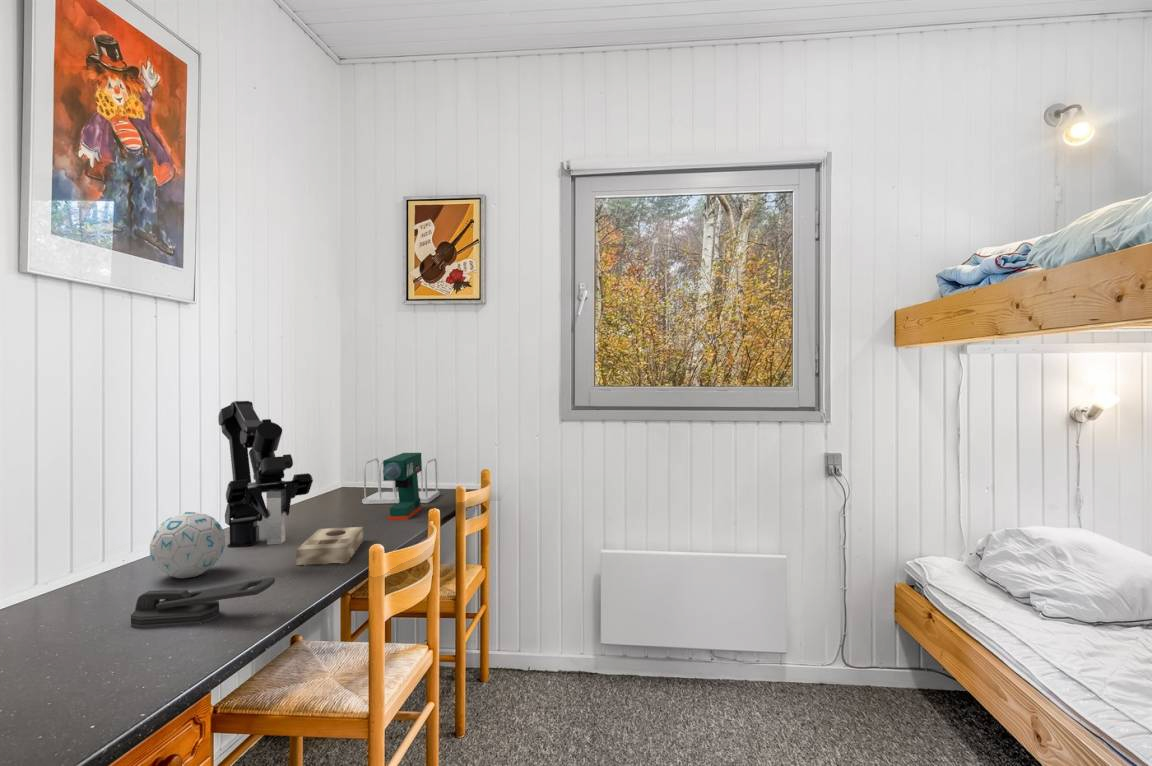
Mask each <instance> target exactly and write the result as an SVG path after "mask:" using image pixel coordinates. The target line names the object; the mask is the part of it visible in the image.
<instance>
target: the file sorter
mask: <svg viewBox="0 0 1152 766" xmlns="http://www.w3.org/2000/svg"><path fill="white" fill-rule="evenodd" d="M375 461H376V463H377V485H378V486H377V487H378V488H377V491H376V492H375V493H373V494H371V495H369V496H367V489H366V488H367V484H366V483H367V481H366V480H367V479H366V477H367V476H366V467H367V464H369V463H371V462H375ZM433 461H434V471H435V475H434V478H435V490H428V477H427V476H428V475H427V473H428V472H427V467H428V463H431V462H433ZM437 463H438V462H437V458H435V457H434V458H432V459H429V460H427V461H426V462H425V464H424V481H423V470H422V471H420V488H421V490H419V498H420V504H429V503H430V502H432V501H433V500H435V499H436V498H437V497H439V496H440V494H441V493H440V490H438V465H437ZM382 466H383V461H381V462H380V461H379V459H378V458H372V459H370V460H367V461H365V462H364V465H363V490H364V491H363V493H364V494H363V495H364V498H362V499H361V504H362V503H363V504H362V505H373V504H375V505H378V504H397V503H399V493H398V491H397V488H395V481H392V491H382V476H381V472H382V471H381V468H382ZM421 467H422V468H423V459H421ZM424 483H425V484H424ZM424 486H425V488H424ZM424 489H425V490H424Z"/></svg>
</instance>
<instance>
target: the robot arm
mask: <svg viewBox="0 0 1152 766" xmlns="http://www.w3.org/2000/svg"><path fill="white" fill-rule="evenodd" d="M253 406H254V405H253V402H252V401H249V400H235V401H233V402H232V401H231V403H230V404H229V405H227V406H225V407H223V408H221V409H220V411H219V414H218V416H217V417H218V425H219V426H221V433H222V434H223V435H224V436H225V437H226V439H227V440H228V442H229V443H228V444H229V451H230V462H231V472H232V480H231V481H229V482H228V484H227V488H226V492H225V499H226V500H225V501H226V503H227V504H226V508H225V514H224V523H225V524H226V525H227V526H229V543H228V544H227V547H228V548H231V547H232V548H233V547H246V546H247V545H251V546H253V545H255V544H256V543H257V541H258V540H259V541H260V526H259V525H258V522H261V521H262V520H263V518H264V519H267V518H268V513H267V505H266V504H265V500H264V497H263V493H266V492H267V491H269V490H272V489H285V516H289V514H290V510H291V504H292V503H291V501H292V499H295V498H296V496H304V495H308V494H309V493H310V490H311V488H312V484H313V481H314V479H313V475H311V473H308V472H307V473H297V474H293V477H292V480H288V481H286V480H282V479H284V478H285V471H286V470H288V469H291V468H292V467H293V465H294V460H293V457H292V455H291V454H289V453H288V454H283V455H282V456H276V453H275V452H276V451H278V447H279V444H280V442H281V437H282V434H283V428H282V426H280V425H279V424H277V423H276V422H273V421H272V419H271V418H266V419H265V418H264V419H262V420H260V418H259V416H258V415H257V413H256V410H255V409H254V407H253ZM248 449H249V450H248ZM250 465H251V467H250ZM251 468H252V473H253V477H251V476H252V475H251ZM252 478H253V480H254V482H252ZM259 541H258V542H259ZM254 543H255V544H254ZM247 547H248V546H247Z"/></svg>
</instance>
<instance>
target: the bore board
mask: <svg viewBox="0 0 1152 766" xmlns="http://www.w3.org/2000/svg"><path fill="white" fill-rule="evenodd" d="M363 542H364V527H363V526H356V527H355V526H353V527H331V528H330V527H329V528H318V529H316V531H314V533H313V534H311V536H309V537H308V538H307V539H306V540H305V541H304V542H303V543H302V544H301V545H300V546H299V547H298V548H297V549H296V550H295V557H296V558H295V559H296V561H295V562H296V564H295V565H301V564H322V565H326V564H325V563H340V564H348V563H347V562H349V561H350V560H351V559H350V558H352V557H353V556H354V554H355V553H356V552H357V551H358V549H359V547H360V546H361V545H362V543H363ZM360 544H361V545H360ZM355 551H356V552H355Z"/></svg>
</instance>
